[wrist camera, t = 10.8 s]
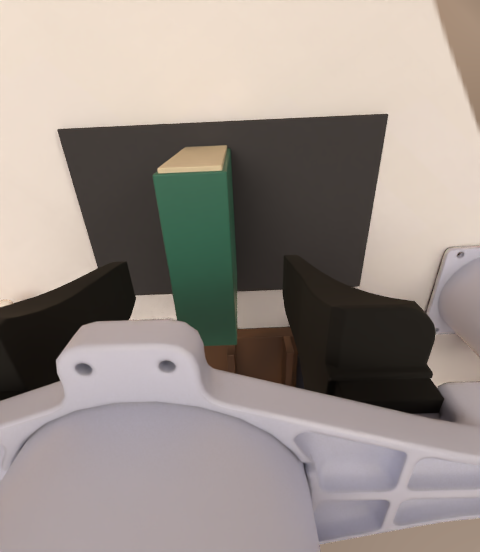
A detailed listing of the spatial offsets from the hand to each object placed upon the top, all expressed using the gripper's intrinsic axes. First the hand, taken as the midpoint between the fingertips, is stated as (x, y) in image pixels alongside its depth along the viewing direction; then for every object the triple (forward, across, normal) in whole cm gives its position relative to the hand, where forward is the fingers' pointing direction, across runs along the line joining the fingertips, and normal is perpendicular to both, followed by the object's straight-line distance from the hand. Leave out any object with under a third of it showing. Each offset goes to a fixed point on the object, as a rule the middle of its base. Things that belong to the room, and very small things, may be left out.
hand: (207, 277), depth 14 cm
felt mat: (+9, -1, 0) cm, 9 cm away
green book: (+8, 0, 0) cm, 8 cm away
